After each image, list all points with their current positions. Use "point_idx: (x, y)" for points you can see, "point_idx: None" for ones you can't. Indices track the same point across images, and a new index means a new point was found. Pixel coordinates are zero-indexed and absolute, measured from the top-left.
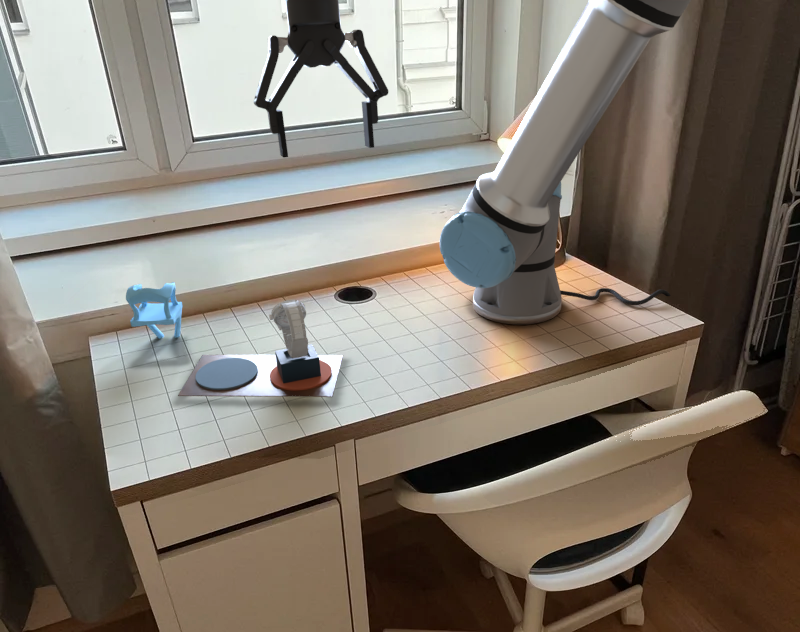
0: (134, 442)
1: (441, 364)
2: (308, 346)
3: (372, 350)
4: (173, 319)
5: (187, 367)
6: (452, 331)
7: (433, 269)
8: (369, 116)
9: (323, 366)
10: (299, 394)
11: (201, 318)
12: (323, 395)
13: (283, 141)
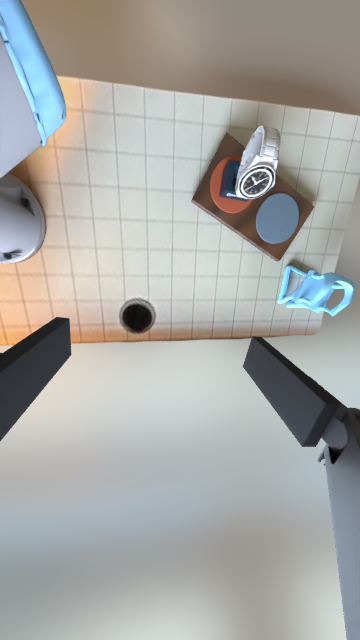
0: (348, 171)
1: (118, 146)
2: (229, 187)
3: (163, 208)
4: (312, 270)
5: (287, 258)
6: (83, 202)
7: None
8: (10, 355)
9: (215, 185)
10: None
11: (254, 329)
12: (232, 138)
13: (275, 351)
